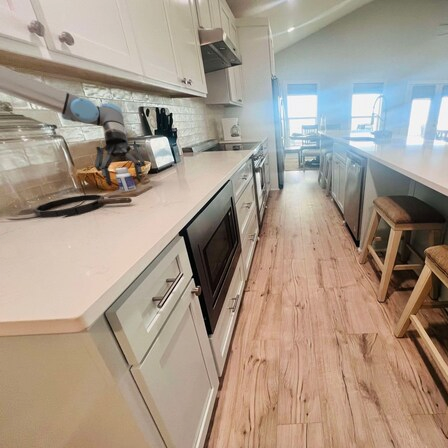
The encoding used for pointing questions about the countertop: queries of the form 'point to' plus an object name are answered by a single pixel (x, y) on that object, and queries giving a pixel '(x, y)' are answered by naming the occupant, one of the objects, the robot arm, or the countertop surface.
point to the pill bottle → (125, 180)
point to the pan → (79, 209)
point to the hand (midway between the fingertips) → (124, 181)
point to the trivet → (128, 194)
